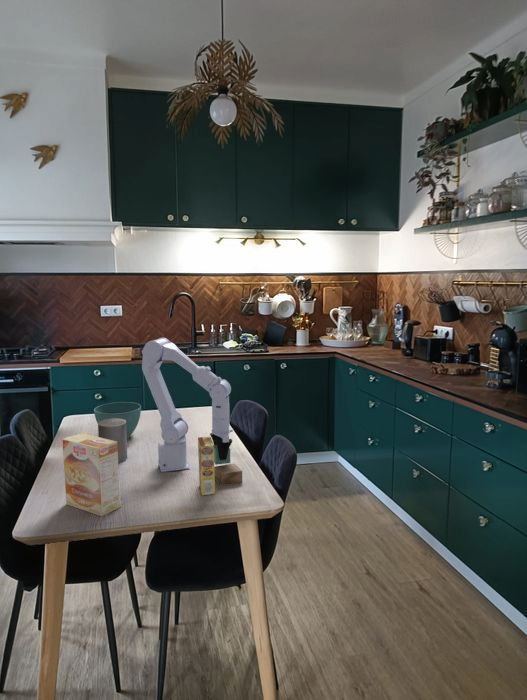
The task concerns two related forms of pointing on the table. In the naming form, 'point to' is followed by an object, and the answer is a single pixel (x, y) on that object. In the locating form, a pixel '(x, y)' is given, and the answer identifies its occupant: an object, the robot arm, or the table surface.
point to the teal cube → (217, 459)
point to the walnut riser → (228, 474)
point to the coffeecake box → (91, 473)
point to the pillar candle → (115, 435)
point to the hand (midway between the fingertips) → (221, 456)
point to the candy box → (206, 465)
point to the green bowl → (120, 414)
